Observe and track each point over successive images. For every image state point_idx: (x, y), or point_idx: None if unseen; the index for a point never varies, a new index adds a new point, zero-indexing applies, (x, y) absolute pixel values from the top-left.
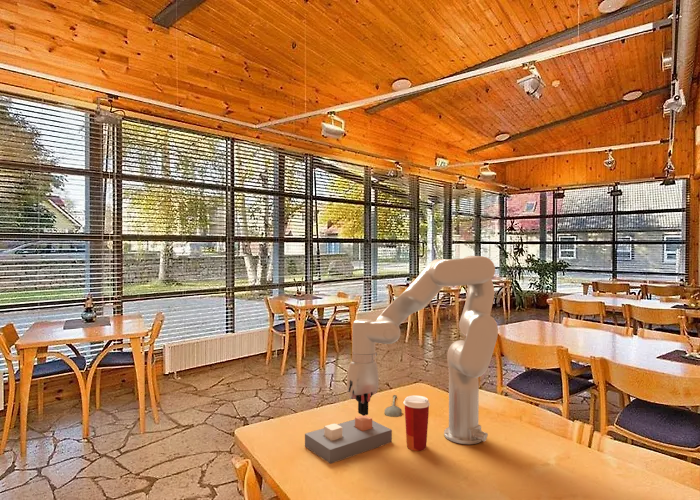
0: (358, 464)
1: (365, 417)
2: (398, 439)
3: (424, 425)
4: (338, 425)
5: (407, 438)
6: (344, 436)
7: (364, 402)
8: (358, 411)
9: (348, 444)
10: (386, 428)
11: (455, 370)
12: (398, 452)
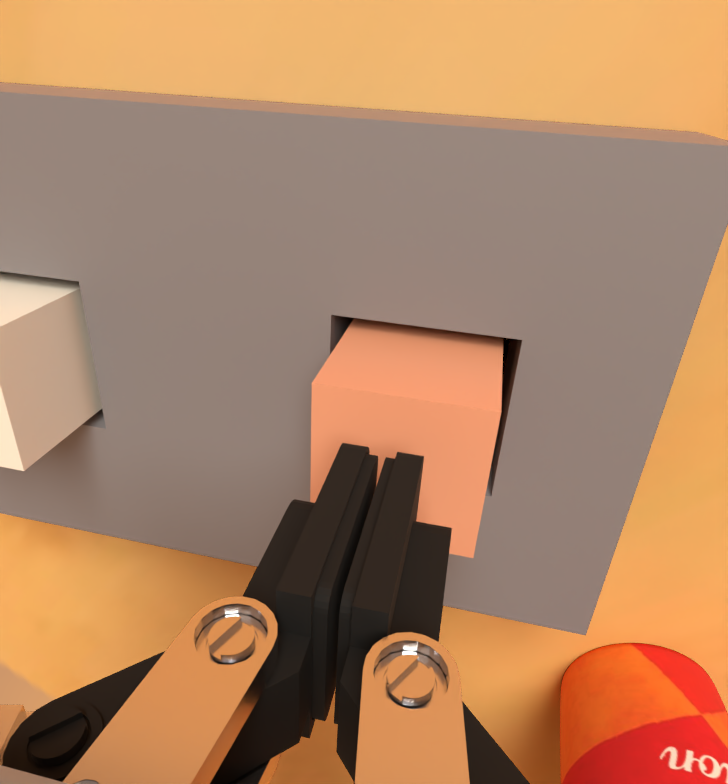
0: (152, 556)
1: (428, 482)
2: (669, 556)
3: None
4: (2, 410)
5: (570, 734)
6: (115, 421)
7: (337, 693)
8: (296, 500)
9: (85, 526)
10: (575, 589)
11: None
12: (464, 644)
